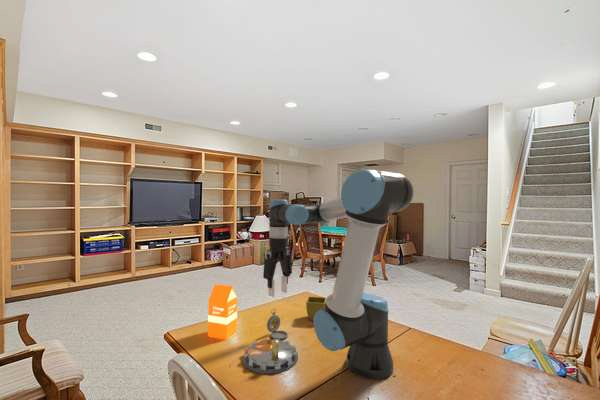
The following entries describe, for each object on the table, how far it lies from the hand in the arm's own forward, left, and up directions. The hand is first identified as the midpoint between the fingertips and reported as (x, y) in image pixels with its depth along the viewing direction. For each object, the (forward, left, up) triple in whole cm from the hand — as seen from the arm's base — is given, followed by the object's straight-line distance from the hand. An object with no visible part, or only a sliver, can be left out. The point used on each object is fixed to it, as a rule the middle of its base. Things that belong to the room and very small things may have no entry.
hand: (277, 293), depth 117 cm
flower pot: (0, -24, -17) cm, 30 cm away
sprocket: (-11, +13, -17) cm, 24 cm away
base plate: (-11, +13, -17) cm, 24 cm away
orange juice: (+17, +15, -17) cm, 28 cm away
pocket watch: (0, 0, -17) cm, 17 cm away
